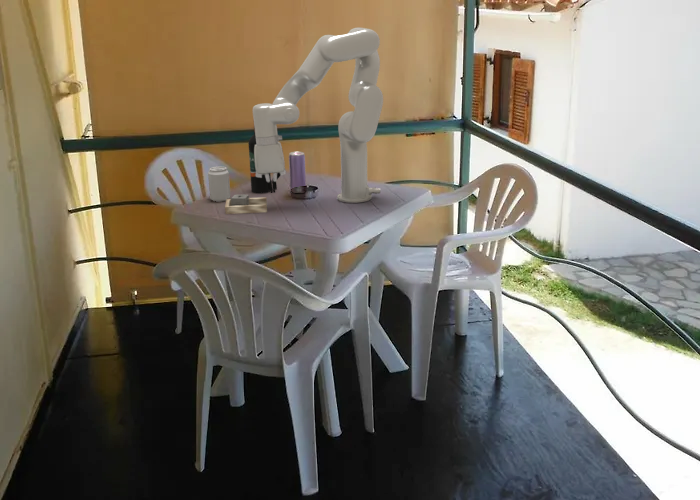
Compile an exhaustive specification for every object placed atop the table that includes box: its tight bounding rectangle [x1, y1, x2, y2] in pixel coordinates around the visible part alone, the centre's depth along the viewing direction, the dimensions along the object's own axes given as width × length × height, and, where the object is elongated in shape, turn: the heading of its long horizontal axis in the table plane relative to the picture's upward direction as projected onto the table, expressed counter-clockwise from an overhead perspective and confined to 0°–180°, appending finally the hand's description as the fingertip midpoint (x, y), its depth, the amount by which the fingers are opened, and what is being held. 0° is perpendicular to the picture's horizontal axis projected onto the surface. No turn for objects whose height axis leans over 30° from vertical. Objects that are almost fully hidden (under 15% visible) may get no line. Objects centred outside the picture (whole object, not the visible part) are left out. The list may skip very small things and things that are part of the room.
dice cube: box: [230, 194, 250, 206], centre depth 254 cm, size 5×5×5 cm
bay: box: [224, 196, 268, 215], centre depth 256 cm, size 14×10×2 cm
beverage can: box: [288, 151, 307, 192], centre depth 274 cm, size 6×6×15 cm
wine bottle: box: [248, 126, 272, 194], centre depth 274 cm, size 8×8×30 cm
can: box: [207, 165, 231, 203], centre depth 266 cm, size 8×8×12 cm
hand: (273, 191), depth 256 cm, fingers closed
